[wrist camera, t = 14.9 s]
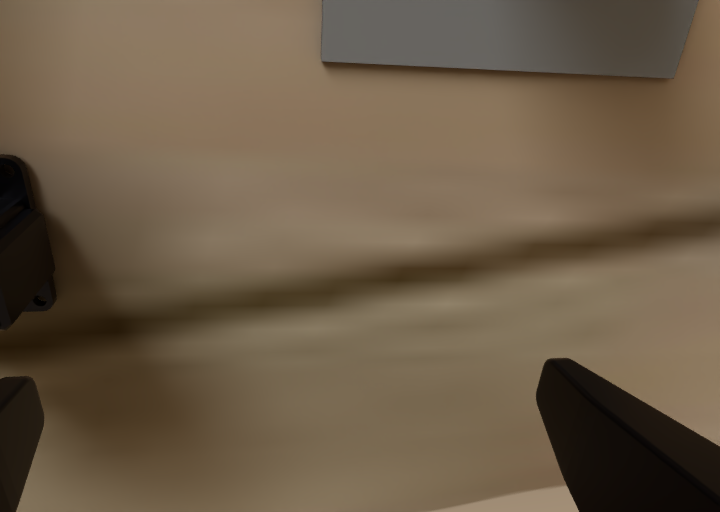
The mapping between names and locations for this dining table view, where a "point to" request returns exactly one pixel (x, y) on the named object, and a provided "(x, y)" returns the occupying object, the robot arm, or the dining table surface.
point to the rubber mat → (511, 34)
